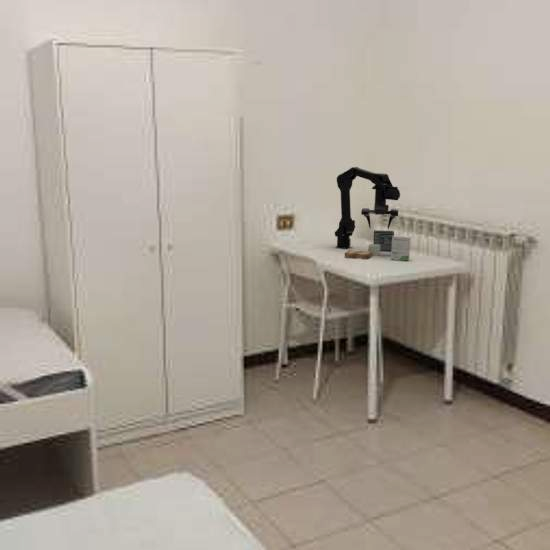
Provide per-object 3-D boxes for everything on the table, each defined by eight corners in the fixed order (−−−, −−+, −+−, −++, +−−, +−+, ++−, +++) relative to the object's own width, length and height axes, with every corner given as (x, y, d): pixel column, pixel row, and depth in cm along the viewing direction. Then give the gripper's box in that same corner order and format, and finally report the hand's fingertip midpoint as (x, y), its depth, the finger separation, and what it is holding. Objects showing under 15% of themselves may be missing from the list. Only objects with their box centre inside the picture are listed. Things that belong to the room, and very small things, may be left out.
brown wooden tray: (344, 257, 357) (344, 252, 356) (349, 254, 366) (349, 249, 365) (367, 259, 353) (368, 254, 352) (372, 256, 362) (372, 251, 361)
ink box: (390, 259, 352) (391, 236, 350) (392, 258, 357) (393, 235, 355) (407, 261, 350) (409, 237, 347) (409, 259, 354) (410, 236, 352)
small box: (392, 249, 381) (393, 230, 379) (393, 251, 375) (394, 232, 373) (373, 249, 382) (373, 229, 380) (373, 251, 376) (374, 231, 374)
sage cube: (368, 255, 365) (368, 245, 364) (370, 253, 370) (370, 244, 369) (377, 255, 363) (378, 246, 362) (379, 254, 368) (380, 244, 367)
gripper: (361, 199, 356) (360, 230, 359) (399, 200, 353) (397, 231, 356) (362, 197, 367) (361, 227, 370) (398, 198, 364) (397, 228, 367)
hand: (379, 228), depth 366 cm, fingers open, 9 cm apart
